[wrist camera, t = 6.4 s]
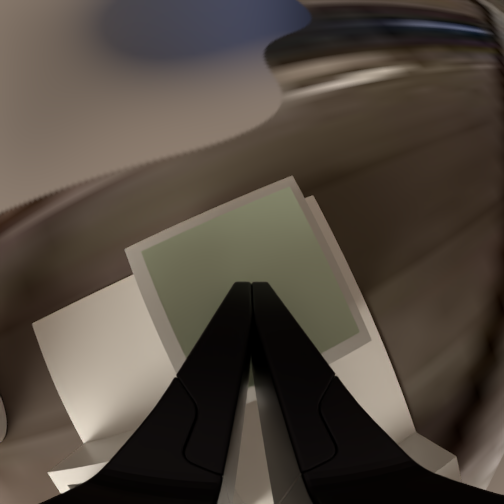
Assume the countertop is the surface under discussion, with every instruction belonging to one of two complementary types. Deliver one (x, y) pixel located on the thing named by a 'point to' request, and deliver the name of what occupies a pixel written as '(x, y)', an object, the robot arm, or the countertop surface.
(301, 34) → the countertop surface
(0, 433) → the mug
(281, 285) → the key sage
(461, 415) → the countertop surface
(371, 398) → the keypad
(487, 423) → the countertop surface
